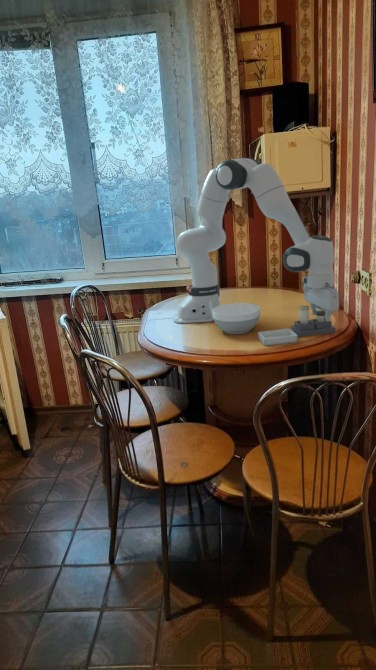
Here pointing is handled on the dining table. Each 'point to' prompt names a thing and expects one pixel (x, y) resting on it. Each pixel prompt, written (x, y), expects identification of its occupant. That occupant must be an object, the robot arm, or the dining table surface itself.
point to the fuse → (304, 315)
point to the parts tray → (277, 337)
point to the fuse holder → (312, 328)
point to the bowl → (236, 317)
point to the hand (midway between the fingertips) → (320, 317)
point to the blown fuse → (320, 314)
